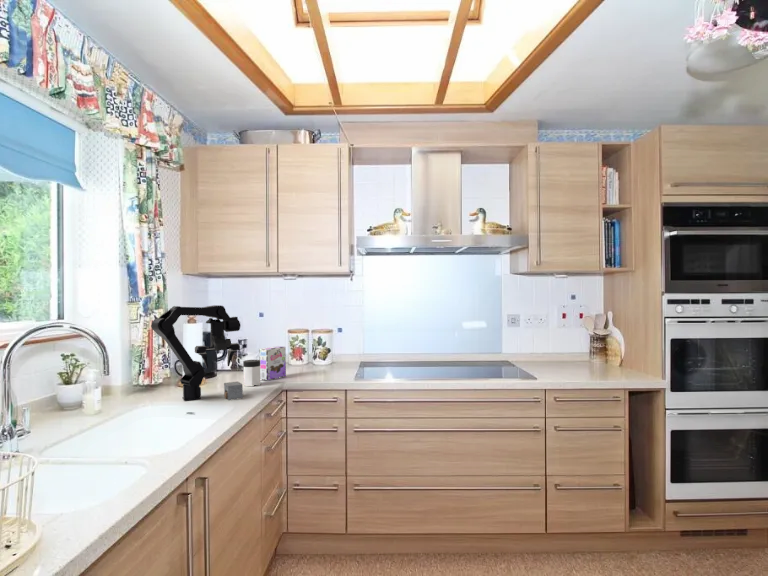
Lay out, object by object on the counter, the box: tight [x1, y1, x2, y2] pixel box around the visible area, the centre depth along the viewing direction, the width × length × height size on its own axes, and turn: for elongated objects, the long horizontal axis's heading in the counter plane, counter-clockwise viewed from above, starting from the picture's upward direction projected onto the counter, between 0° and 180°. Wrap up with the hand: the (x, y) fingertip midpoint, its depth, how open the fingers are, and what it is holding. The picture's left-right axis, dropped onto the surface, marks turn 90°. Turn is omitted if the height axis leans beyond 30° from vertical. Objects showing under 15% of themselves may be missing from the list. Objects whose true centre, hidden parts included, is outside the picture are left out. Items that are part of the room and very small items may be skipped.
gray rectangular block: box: [223, 381, 244, 401], centre depth 199 cm, size 6×8×6 cm
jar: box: [242, 359, 262, 387], centre depth 225 cm, size 9×8×12 cm
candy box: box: [258, 345, 287, 381], centre depth 242 cm, size 14×6×16 cm, turn 147°
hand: (217, 367), depth 207 cm, fingers open, 9 cm apart
